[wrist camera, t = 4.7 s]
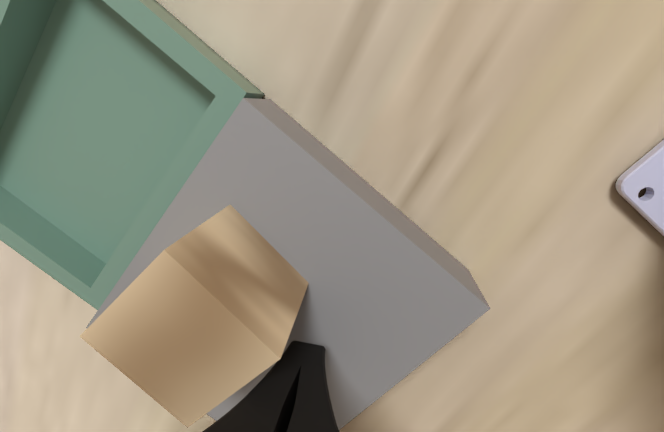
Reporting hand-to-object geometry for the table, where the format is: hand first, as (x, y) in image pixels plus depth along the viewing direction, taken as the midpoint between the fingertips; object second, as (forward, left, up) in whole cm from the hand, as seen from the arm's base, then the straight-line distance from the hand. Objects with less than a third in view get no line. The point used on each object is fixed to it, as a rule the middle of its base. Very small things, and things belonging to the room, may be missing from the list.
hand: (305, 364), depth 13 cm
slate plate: (+2, 0, -4) cm, 4 cm away
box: (+12, 0, -4) cm, 13 cm away
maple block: (+4, -1, -1) cm, 4 cm away
